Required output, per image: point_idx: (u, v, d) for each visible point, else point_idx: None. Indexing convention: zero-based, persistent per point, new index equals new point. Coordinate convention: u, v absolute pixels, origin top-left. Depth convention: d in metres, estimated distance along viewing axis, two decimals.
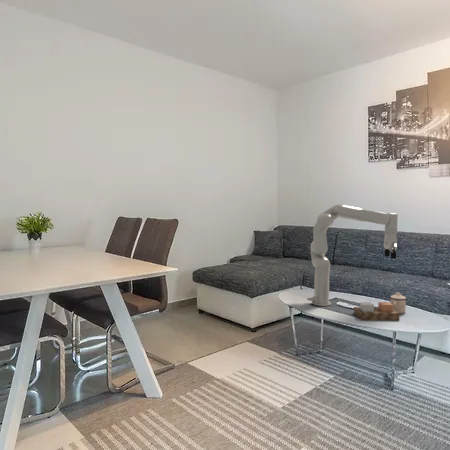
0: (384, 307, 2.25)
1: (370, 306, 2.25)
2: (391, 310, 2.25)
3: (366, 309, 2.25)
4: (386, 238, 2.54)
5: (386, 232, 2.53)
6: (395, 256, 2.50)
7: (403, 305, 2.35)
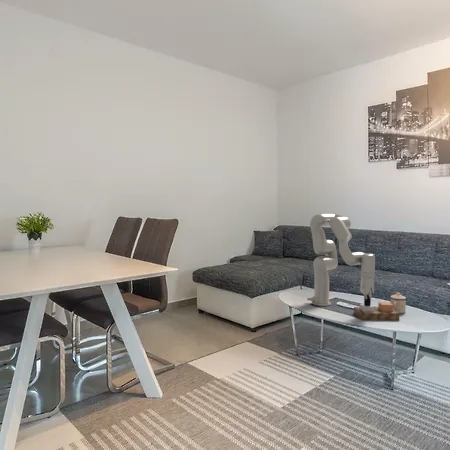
0: (384, 307, 2.25)
1: (370, 308, 2.25)
2: (391, 310, 2.25)
3: (365, 311, 2.25)
4: (362, 282, 2.27)
5: (362, 275, 2.25)
6: (369, 303, 2.27)
7: (403, 305, 2.35)
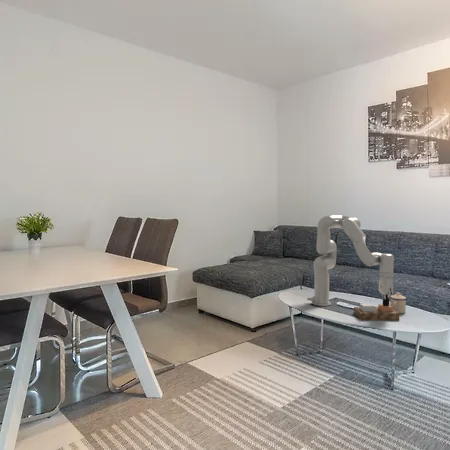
0: (384, 309, 2.25)
1: (370, 307, 2.25)
2: None
3: (365, 310, 2.25)
4: (381, 282, 2.27)
5: (381, 276, 2.25)
6: (388, 303, 2.27)
7: (403, 305, 2.35)
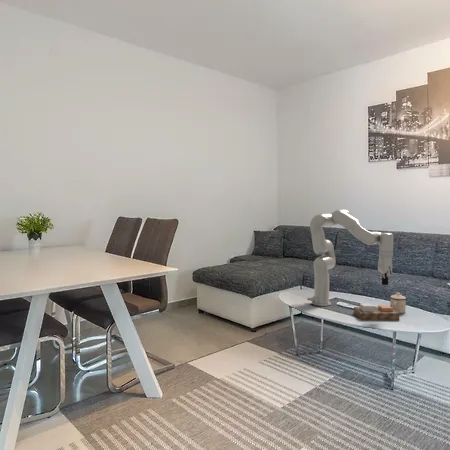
0: (384, 310, 2.25)
1: (370, 307, 2.25)
2: None
3: (365, 310, 2.25)
4: (380, 261, 2.27)
5: (380, 254, 2.25)
6: (387, 282, 2.27)
7: (403, 305, 2.35)
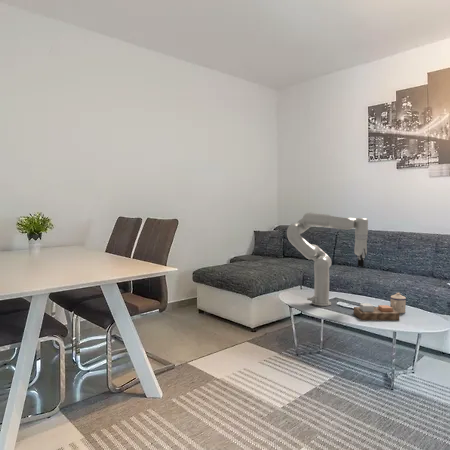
0: (384, 310, 2.25)
1: (370, 307, 2.25)
2: None
3: (365, 310, 2.25)
4: (356, 244, 2.45)
5: (356, 238, 2.43)
6: (363, 264, 2.45)
7: (403, 305, 2.35)
